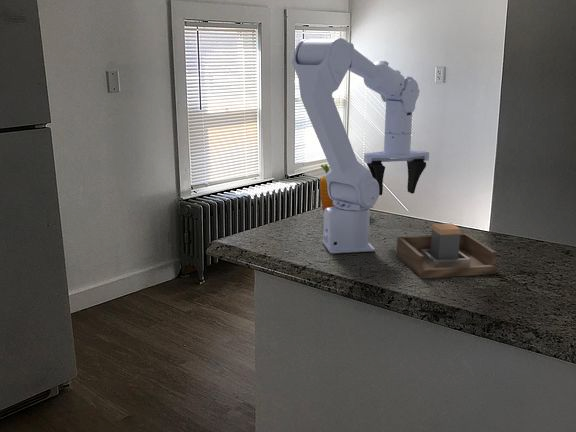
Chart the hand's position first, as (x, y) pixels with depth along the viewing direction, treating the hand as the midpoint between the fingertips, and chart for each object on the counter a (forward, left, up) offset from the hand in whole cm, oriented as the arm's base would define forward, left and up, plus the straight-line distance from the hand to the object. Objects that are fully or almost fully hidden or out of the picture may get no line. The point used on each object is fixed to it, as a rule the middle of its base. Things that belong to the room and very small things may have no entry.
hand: (395, 193), depth 138 cm
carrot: (-12, +12, -10) cm, 19 cm away
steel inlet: (+3, -22, -9) cm, 24 cm away
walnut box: (+3, -22, -9) cm, 24 cm away
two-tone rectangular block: (+3, -21, -9) cm, 23 cm away
